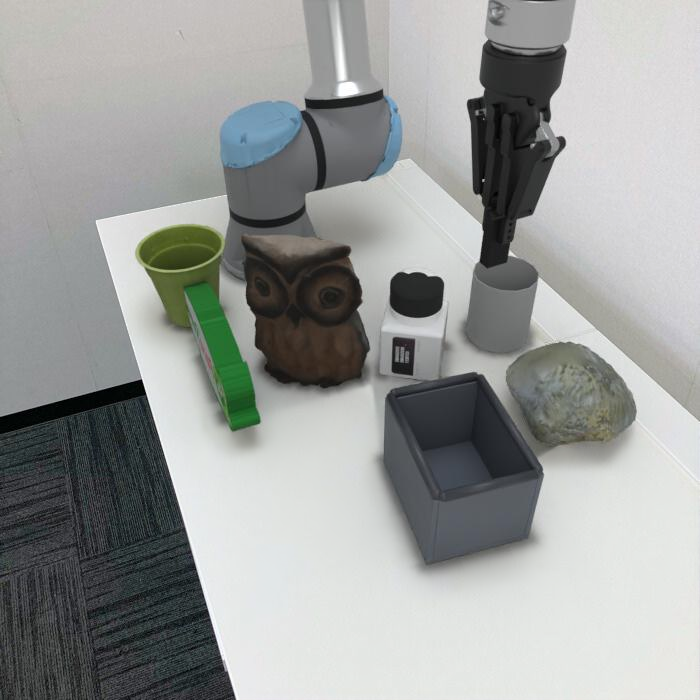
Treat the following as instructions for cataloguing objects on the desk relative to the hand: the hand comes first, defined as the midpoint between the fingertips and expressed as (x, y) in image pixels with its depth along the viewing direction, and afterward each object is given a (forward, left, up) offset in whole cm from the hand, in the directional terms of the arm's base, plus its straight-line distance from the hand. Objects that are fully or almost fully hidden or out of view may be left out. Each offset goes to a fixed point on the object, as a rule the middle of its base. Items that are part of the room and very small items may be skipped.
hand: (493, 262), depth 79 cm
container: (-6, -7, -18) cm, 20 cm away
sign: (-9, -31, -18) cm, 37 cm away
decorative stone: (+9, +7, -18) cm, 21 cm away
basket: (+17, -16, -13) cm, 26 cm away
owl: (-9, -19, -18) cm, 27 cm away
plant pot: (-24, -33, -18) cm, 45 cm away
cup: (-8, +6, -18) cm, 20 cm away
